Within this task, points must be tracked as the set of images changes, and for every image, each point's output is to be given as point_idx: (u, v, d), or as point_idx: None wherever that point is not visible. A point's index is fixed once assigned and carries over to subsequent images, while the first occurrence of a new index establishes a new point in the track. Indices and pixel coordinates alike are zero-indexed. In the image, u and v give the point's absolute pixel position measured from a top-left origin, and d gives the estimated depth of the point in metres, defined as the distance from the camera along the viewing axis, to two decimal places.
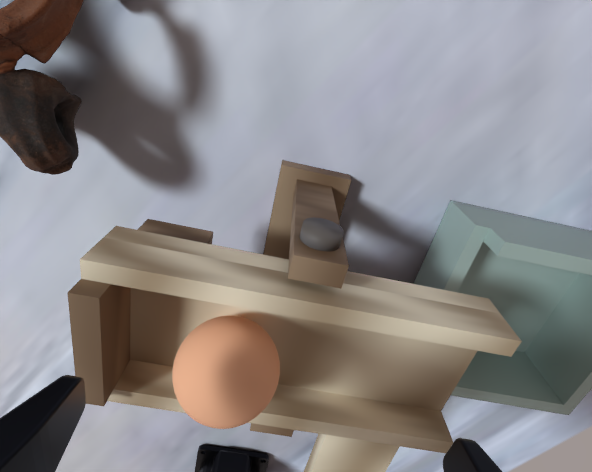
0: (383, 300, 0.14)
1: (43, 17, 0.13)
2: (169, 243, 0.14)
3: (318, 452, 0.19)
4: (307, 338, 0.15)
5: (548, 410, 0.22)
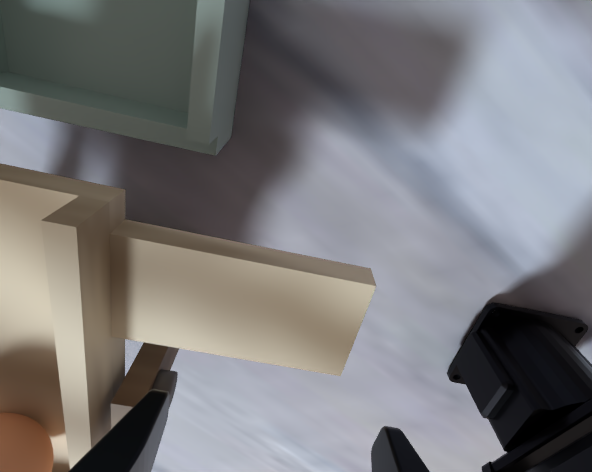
0: None
1: None
2: None
3: (229, 354, 0.12)
4: (1, 368, 0.13)
5: None
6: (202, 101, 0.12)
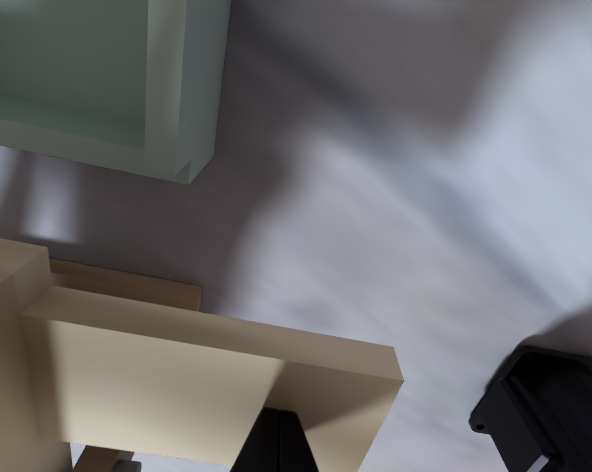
0: None
1: None
2: None
3: (201, 458, 0.09)
4: None
5: None
6: (163, 118, 0.09)
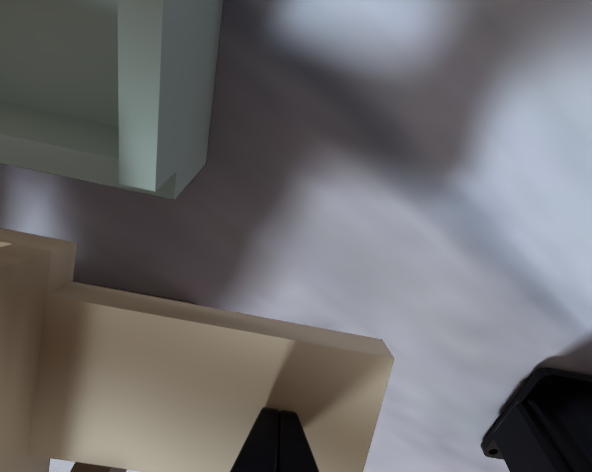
0: None
1: None
2: None
3: None
4: None
5: None
6: (139, 126, 0.07)
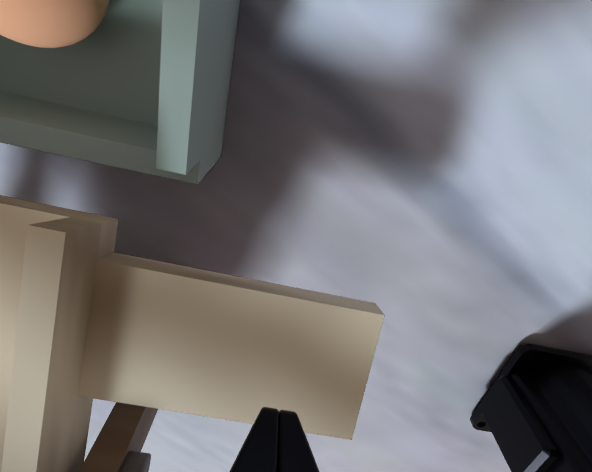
0: None
1: None
2: None
3: (218, 416, 0.10)
4: None
5: None
6: (175, 120, 0.09)
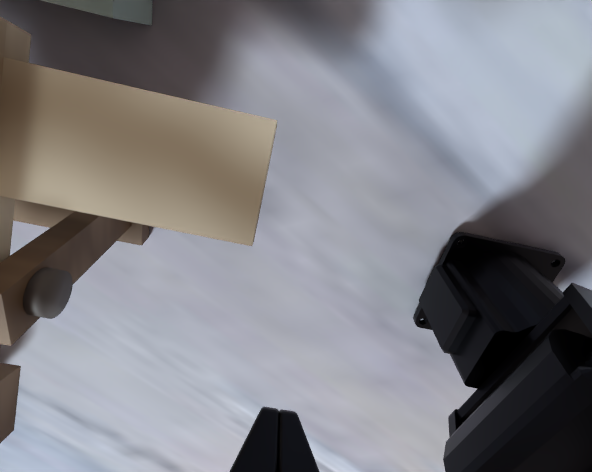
0: None
1: None
2: None
3: (125, 220, 0.11)
4: None
5: None
6: None
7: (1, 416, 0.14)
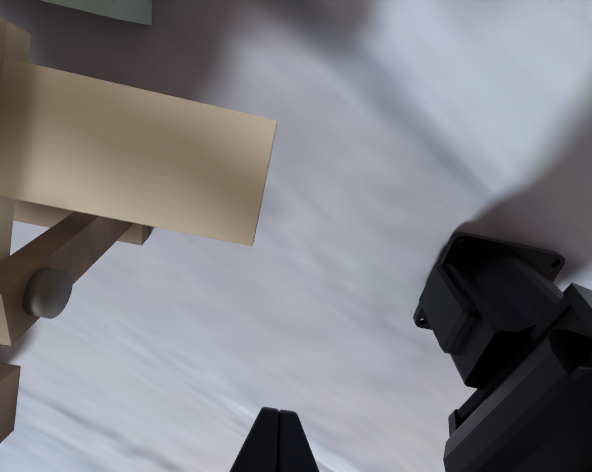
0: None
1: None
2: None
3: (125, 220, 0.11)
4: None
5: None
6: None
7: (1, 416, 0.14)
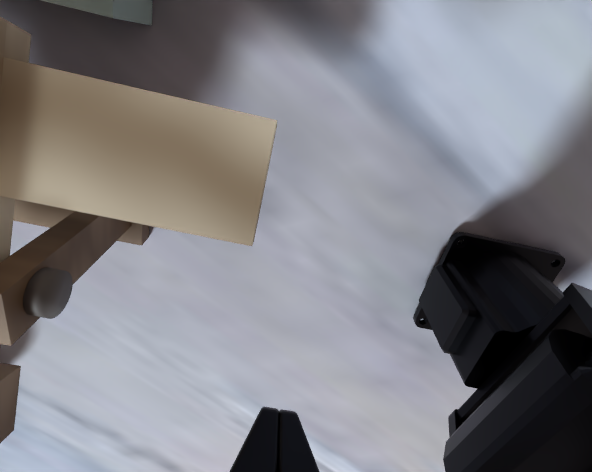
0: None
1: None
2: None
3: (125, 220, 0.11)
4: None
5: None
6: None
7: (1, 416, 0.14)
